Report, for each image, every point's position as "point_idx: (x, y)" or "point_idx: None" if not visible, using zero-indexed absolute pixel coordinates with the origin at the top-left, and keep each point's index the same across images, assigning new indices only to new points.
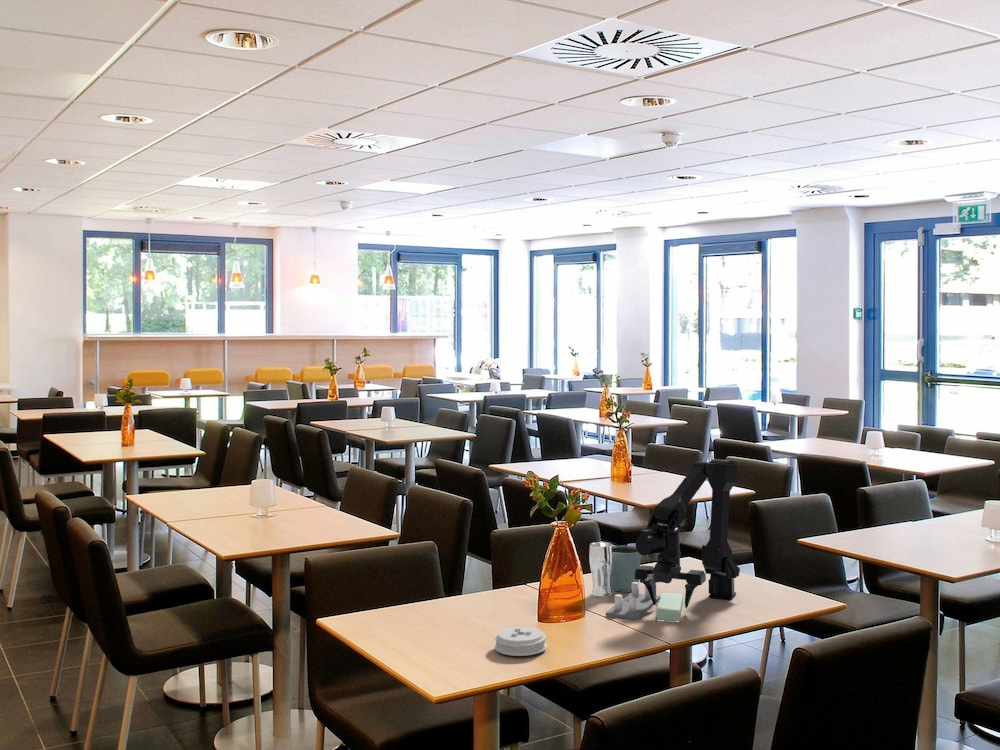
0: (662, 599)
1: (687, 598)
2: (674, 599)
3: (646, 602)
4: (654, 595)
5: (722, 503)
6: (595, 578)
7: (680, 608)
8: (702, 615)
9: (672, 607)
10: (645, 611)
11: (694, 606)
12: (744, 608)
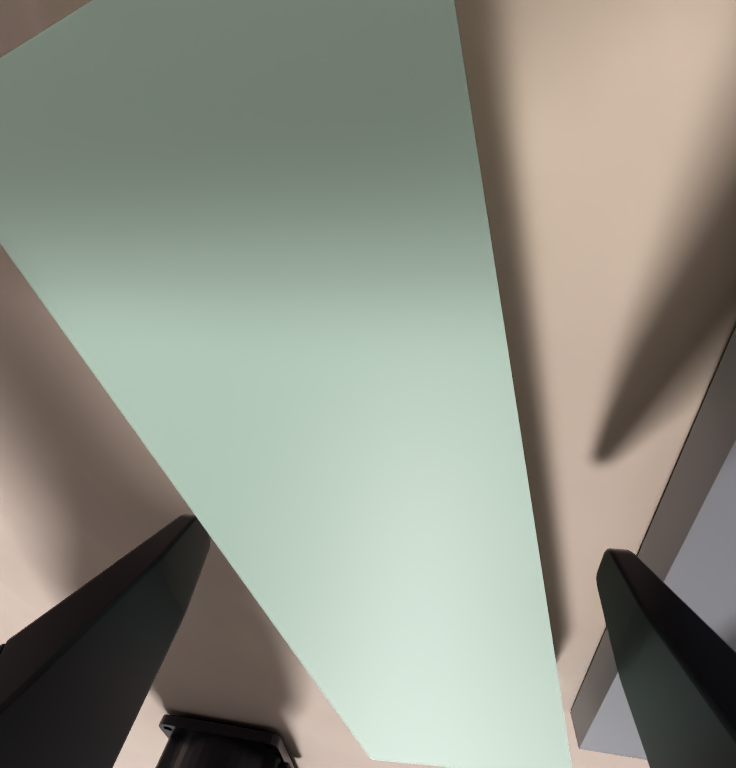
0: (520, 656)
1: (51, 624)
2: (379, 665)
3: (728, 625)
4: (677, 713)
5: None
6: None
7: (100, 382)
8: (83, 464)
9: (233, 390)
10: (729, 376)
11: (272, 624)
12: (16, 627)
